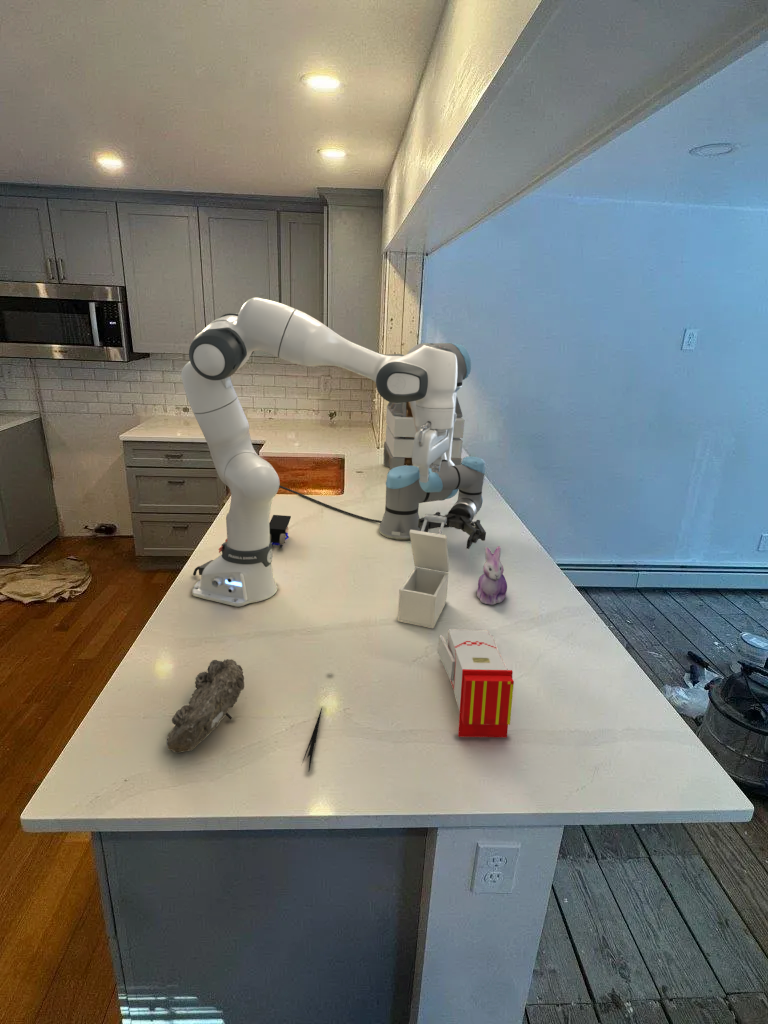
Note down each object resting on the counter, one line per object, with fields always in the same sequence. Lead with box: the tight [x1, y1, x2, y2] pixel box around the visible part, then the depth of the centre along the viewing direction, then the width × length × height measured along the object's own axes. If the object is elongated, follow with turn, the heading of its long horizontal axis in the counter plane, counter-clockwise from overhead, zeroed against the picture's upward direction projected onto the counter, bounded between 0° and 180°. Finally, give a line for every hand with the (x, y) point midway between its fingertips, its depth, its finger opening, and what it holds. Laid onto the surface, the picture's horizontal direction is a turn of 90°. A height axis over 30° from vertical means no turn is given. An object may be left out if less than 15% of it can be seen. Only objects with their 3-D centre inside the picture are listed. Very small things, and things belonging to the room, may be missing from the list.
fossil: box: [166, 658, 245, 754], centre depth 106 cm, size 22×10×15 cm
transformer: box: [383, 396, 465, 471], centre depth 268 cm, size 34×33×41 cm
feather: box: [301, 673, 332, 771], centre depth 108 cm, size 2×28×2 cm
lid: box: [409, 513, 450, 573], centre depth 149 cm, size 15×9×9 cm
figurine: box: [476, 545, 508, 605], centre depth 155 cm, size 9×10×15 cm
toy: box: [437, 628, 515, 738], centre depth 117 cm, size 12×13×30 cm
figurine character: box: [269, 514, 292, 550], centre depth 187 cm, size 7×8×15 cm
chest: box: [397, 566, 449, 629], centre depth 148 cm, size 14×9×9 cm, turn 161°
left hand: (430, 476), depth 134 cm, fingers open, 8 cm apart
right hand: (444, 539), depth 158 cm, fingers open, 13 cm apart
